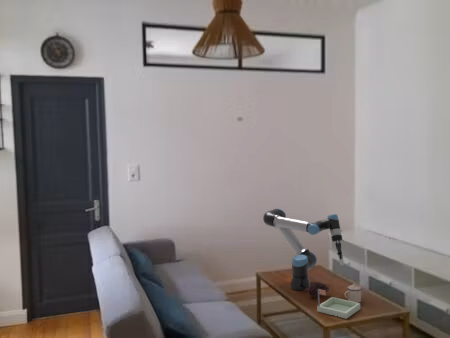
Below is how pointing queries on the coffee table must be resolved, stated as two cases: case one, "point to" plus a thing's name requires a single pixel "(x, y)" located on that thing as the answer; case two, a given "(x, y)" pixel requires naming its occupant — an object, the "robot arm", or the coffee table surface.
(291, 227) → the robot arm
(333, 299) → the mint green square tray
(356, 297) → the teacup with lid
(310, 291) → the pine cone
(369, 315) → the coffee table surface
